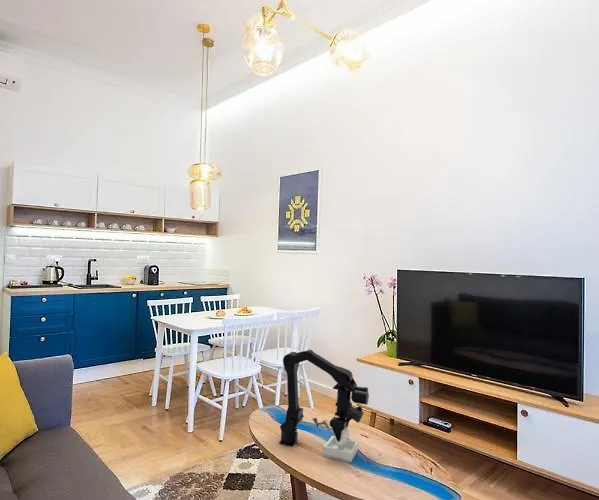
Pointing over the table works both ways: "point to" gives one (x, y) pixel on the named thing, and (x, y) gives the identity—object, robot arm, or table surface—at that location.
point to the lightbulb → (343, 438)
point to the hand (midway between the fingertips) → (341, 437)
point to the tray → (338, 454)
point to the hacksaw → (320, 423)
